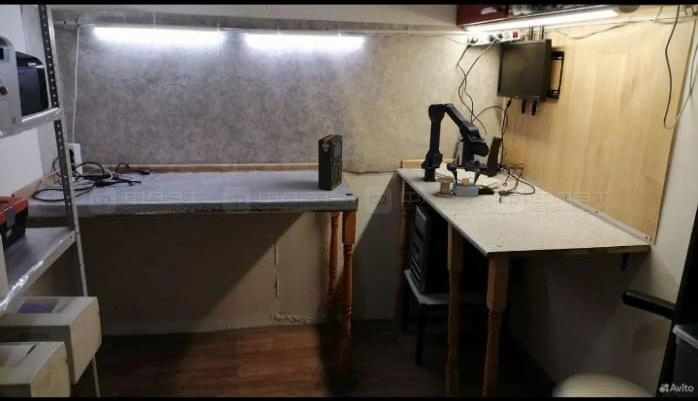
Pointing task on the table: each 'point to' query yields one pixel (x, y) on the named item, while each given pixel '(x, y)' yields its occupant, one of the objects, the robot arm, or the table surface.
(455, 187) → the bracket
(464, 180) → the brown wooden block
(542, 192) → the table surface
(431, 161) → the robot arm
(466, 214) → the table surface
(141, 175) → the table surface
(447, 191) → the tan door knob
